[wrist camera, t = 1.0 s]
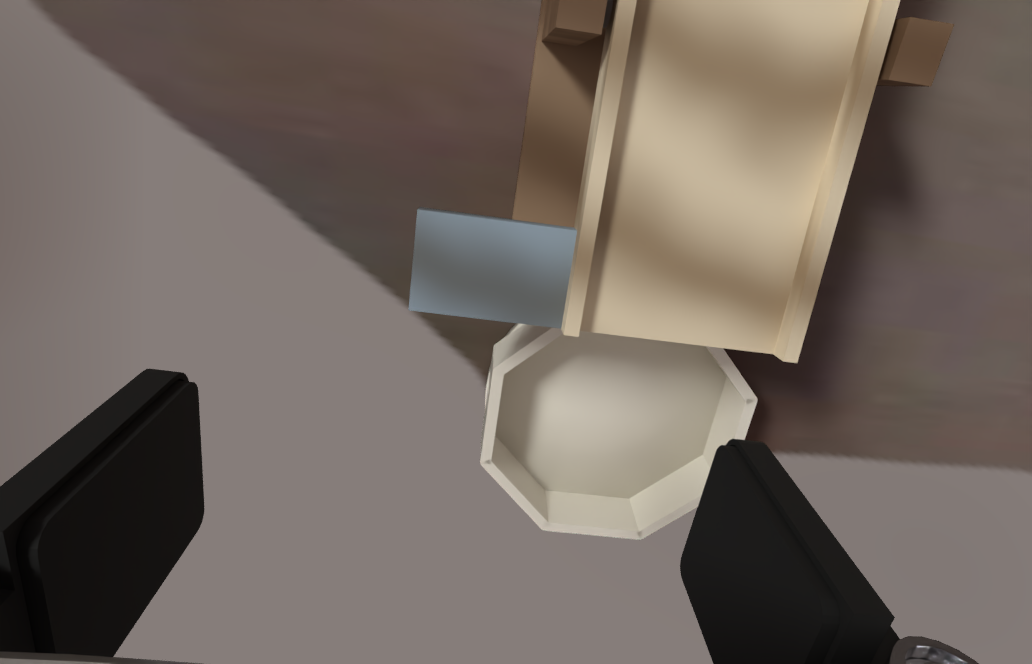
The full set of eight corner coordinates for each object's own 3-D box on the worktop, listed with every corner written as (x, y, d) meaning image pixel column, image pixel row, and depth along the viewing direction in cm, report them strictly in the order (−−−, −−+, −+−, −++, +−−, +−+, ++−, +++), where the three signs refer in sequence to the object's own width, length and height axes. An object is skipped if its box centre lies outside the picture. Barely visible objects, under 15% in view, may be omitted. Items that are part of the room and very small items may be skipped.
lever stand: (580, -286, 24) (621, -477, 16) (909, -222, 25) (1108, -369, 17) (505, 262, 33) (507, 323, 25) (751, 293, 34) (832, 362, 26)
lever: (474, -304, 22) (468, -453, 16) (893, -222, 23) (1016, -336, 18) (420, 288, 28) (402, 321, 23) (752, 329, 29) (810, 369, 24)
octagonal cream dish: (501, 267, 33) (501, 290, 29) (753, 299, 34) (784, 326, 30) (472, 482, 39) (469, 524, 35) (690, 504, 40) (710, 547, 36)
